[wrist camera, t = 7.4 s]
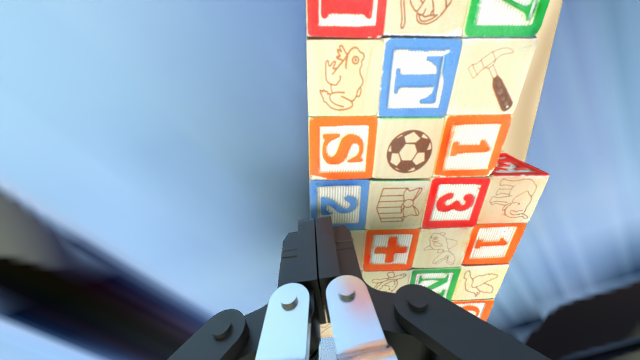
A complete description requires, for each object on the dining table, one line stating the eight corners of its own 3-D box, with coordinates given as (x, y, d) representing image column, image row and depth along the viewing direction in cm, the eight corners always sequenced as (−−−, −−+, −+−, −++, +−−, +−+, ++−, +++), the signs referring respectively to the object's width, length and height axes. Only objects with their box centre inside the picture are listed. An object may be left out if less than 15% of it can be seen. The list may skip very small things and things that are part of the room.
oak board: (581, -110, 13) (589, -115, 13) (497, 264, 24) (500, 267, 24) (303, -63, 13) (303, -66, 13) (349, 285, 25) (349, 289, 24)
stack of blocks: (298, -77, 8) (662, -73, 8) (301, -21, 14) (520, -20, 14) (312, 340, 17) (486, 330, 18) (311, 271, 23) (442, 265, 23)
